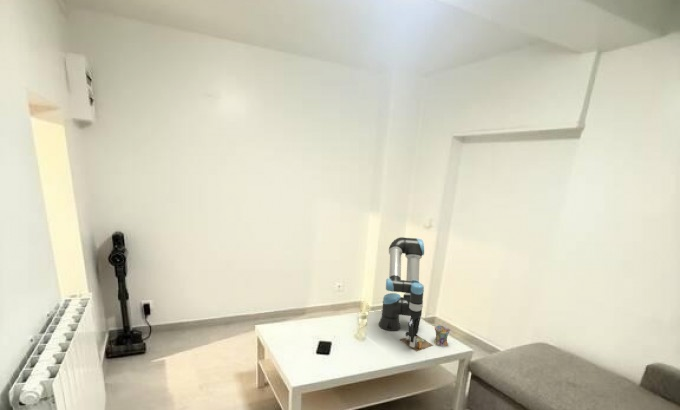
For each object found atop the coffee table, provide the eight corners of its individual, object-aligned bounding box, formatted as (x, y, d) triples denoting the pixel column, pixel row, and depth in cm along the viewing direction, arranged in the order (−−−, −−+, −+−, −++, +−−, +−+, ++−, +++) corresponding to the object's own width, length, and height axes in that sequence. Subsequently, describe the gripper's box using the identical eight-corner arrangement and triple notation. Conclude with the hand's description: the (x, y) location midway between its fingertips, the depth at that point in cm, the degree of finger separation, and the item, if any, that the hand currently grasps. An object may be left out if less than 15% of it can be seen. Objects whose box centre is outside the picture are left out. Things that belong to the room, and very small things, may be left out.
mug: (451, 348, 198) (452, 332, 197) (437, 349, 196) (439, 332, 195) (441, 338, 210) (443, 323, 209) (428, 339, 208) (429, 323, 207)
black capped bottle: (403, 340, 202) (404, 331, 201) (408, 338, 204) (409, 330, 204) (417, 349, 192) (418, 340, 191) (422, 347, 194) (423, 339, 194)
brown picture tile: (399, 341, 203) (399, 339, 203) (415, 336, 211) (415, 334, 211) (416, 353, 190) (416, 351, 190) (433, 347, 198) (433, 345, 198)
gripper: (416, 314, 183) (413, 353, 186) (425, 307, 194) (422, 344, 196) (404, 310, 188) (401, 348, 190) (414, 304, 198) (411, 339, 201)
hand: (412, 346), depth 193 cm, fingers closed
